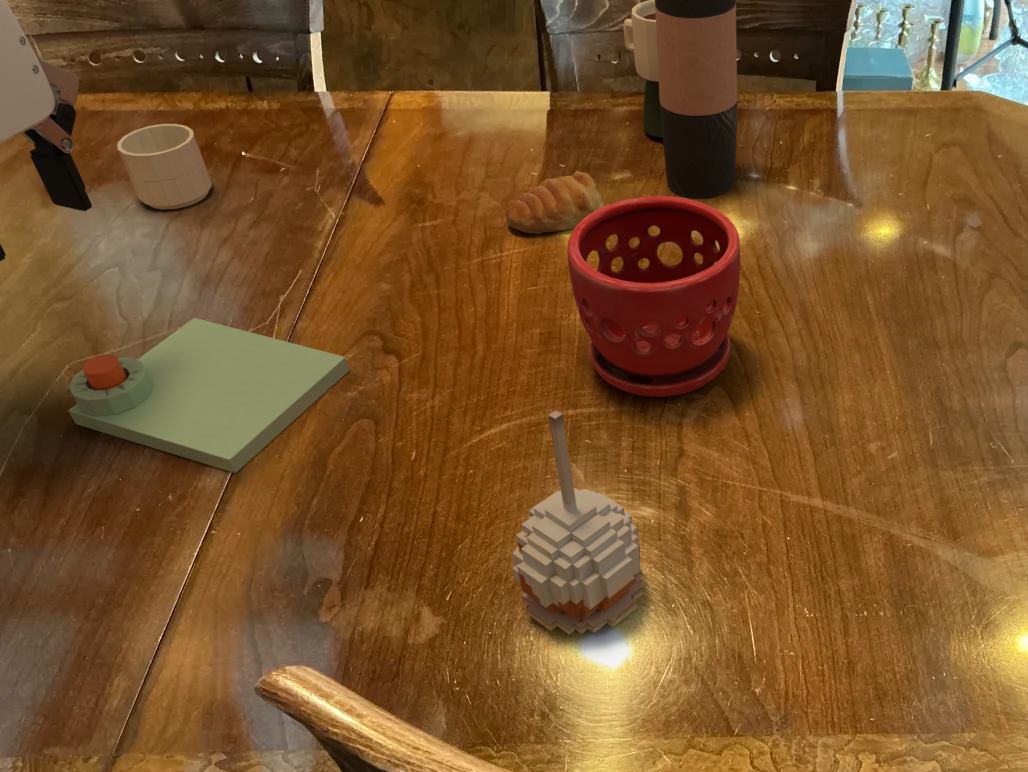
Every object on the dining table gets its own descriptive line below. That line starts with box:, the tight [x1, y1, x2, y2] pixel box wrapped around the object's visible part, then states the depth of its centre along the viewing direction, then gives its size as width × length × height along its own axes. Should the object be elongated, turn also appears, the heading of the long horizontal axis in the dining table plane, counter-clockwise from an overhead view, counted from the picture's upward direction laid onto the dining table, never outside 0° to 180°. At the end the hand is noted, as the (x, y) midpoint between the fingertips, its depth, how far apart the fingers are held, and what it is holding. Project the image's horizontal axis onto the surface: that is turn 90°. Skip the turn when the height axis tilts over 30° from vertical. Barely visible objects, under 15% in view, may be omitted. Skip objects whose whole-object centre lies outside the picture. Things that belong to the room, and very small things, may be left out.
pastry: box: [505, 170, 605, 235], centre depth 106 cm, size 9×7×4 cm
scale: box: [68, 317, 350, 474], centre depth 86 cm, size 17×14×3 cm
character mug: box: [623, 0, 663, 139], centre depth 116 cm, size 11×7×13 cm, turn 58°
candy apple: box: [511, 409, 644, 635], centre depth 66 cm, size 8×8×15 cm
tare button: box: [82, 354, 127, 391], centre depth 84 cm, size 3×3×2 cm
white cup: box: [116, 123, 213, 210], centre depth 110 cm, size 7×7×6 cm
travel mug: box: [655, 0, 738, 199], centre depth 105 cm, size 8×8×20 cm
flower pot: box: [566, 195, 741, 398], centre depth 85 cm, size 13×13×12 cm
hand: (31, 229), depth 75 cm, fingers open, 6 cm apart
